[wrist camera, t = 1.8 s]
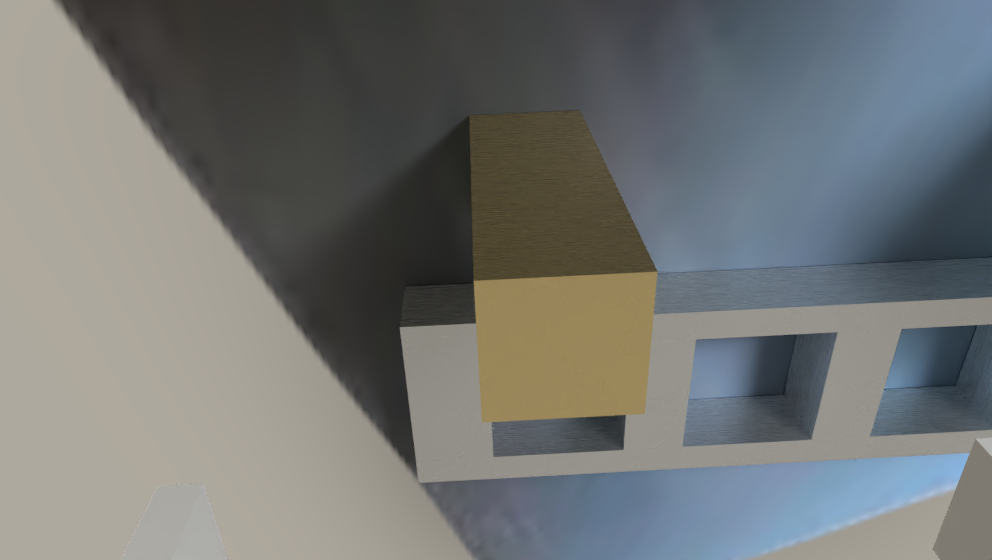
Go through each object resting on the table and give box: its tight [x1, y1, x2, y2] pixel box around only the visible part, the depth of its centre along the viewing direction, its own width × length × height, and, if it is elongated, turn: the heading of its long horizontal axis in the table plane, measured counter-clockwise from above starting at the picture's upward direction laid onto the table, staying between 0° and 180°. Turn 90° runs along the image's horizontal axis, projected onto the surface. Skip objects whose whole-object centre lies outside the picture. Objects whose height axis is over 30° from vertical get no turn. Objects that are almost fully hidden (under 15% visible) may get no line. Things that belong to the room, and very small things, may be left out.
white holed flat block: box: [400, 257, 992, 483], centre depth 30 cm, size 8×28×3 cm, turn 92°
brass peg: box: [469, 110, 657, 423], centre depth 22 cm, size 4×4×12 cm
